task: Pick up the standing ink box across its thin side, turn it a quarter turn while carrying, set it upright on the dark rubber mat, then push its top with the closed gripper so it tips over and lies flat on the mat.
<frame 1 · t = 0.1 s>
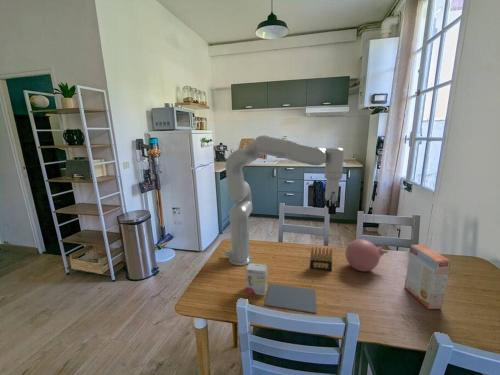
hand: (330, 210, 114), 31 cm above the table, fingers open, 9 cm apart
mat: (291, 297, 101), on the table
pink balloon: (365, 269, 121), on the table
ammunition clip: (320, 269, 122), on the table
cracker box: (421, 298, 100), on the table
ink box: (256, 291, 105), on the table
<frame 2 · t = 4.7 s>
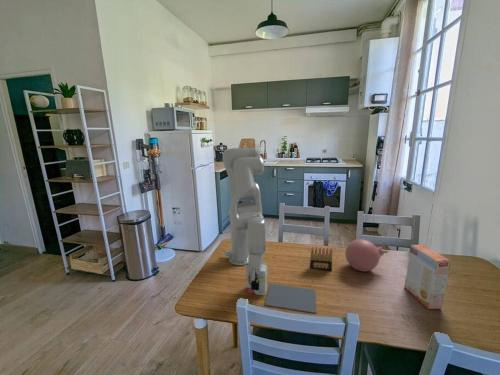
hand: (256, 285, 104), 3 cm above the table, fingers closed on ink box, 5 cm apart
ink box: (256, 291, 105), on the table, touching gripper
everything else where it was.
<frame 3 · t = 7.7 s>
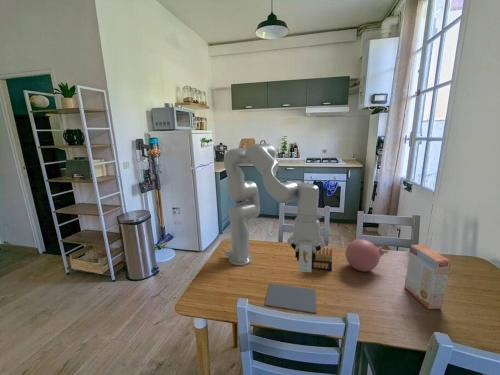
hand: (305, 259, 96), 18 cm above the table, fingers closed on ink box, 5 cm apart
ink box: (304, 266, 96), point 15 cm above the table, touching gripper
everything else where it was.
when the fingers open (4 cm above the table, at t = 10.9 s): ink box stays where it is, resting on mat.
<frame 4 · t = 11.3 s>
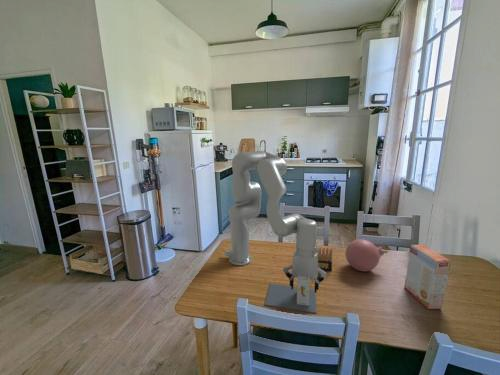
hand: (303, 288, 99), 5 cm above the table, fingers open, 9 cm apart
ink box: (302, 298, 100), resting on mat
everything else where it was.
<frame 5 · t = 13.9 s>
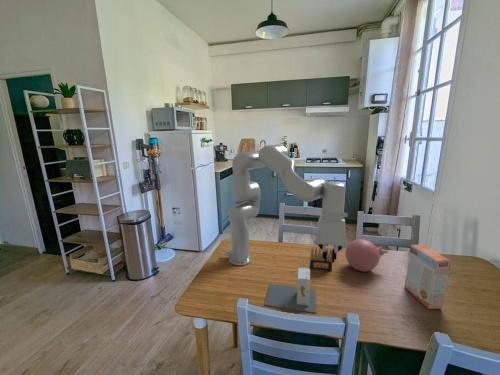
hand: (329, 260, 93), 19 cm above the table, fingers closed
nothing on the table moved.
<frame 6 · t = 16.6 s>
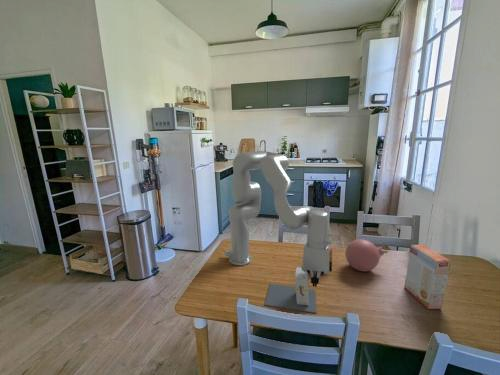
hand: (314, 284, 97), 8 cm above the table, fingers closed
ink box: (302, 298, 100), resting on mat, touching gripper
everything else where it was.
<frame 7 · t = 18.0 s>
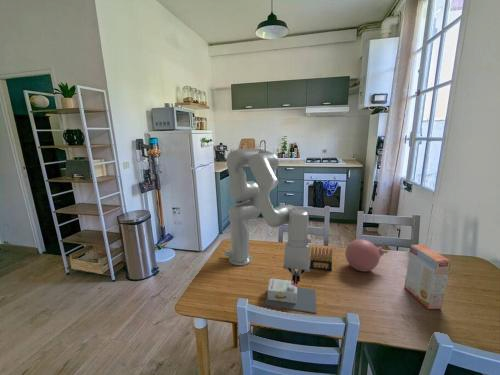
hand: (295, 282, 99), 8 cm above the table, fingers closed
ink box: (297, 292, 100), point 3 cm above the table, touching mat
everything else where it was.
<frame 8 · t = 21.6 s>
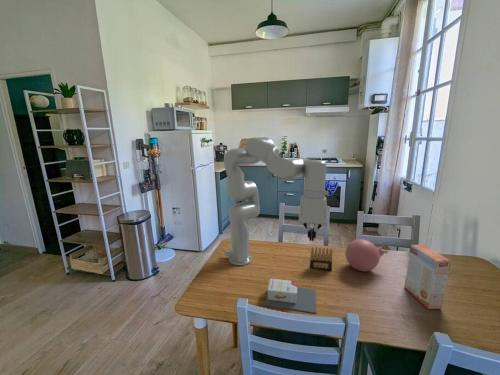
hand: (311, 239, 93), 27 cm above the table, fingers closed
nothing on the table moved.
at the end: ink box tilted 90°; ink box inside the target area (3.1 cm from its centre), point 2.8 cm above the table; the gripper is holding nothing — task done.
